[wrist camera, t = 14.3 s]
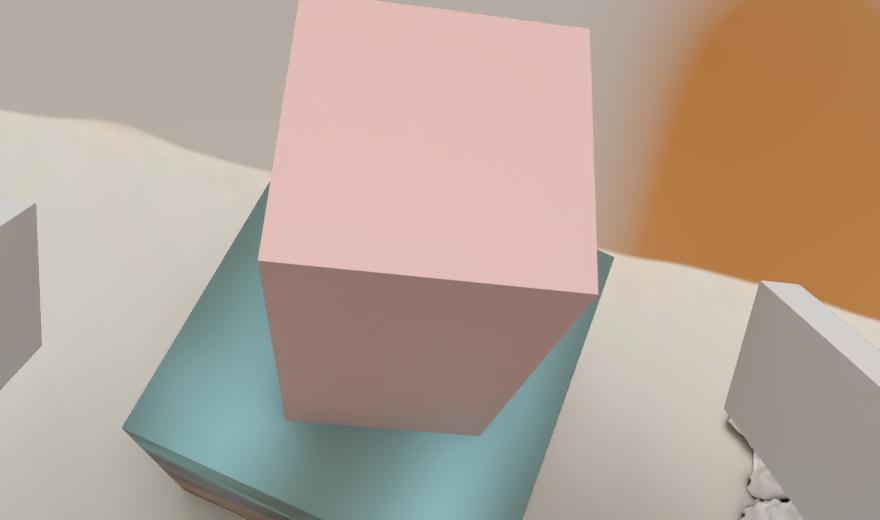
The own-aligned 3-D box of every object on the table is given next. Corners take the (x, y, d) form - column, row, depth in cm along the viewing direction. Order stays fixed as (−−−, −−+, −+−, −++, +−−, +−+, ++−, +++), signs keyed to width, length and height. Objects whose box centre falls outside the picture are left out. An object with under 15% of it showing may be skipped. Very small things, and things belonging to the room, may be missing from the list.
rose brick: (484, 261, 28) (589, 29, 17) (479, 436, 25) (598, 294, 14) (308, 243, 27) (300, -10, 16) (285, 420, 25) (258, 260, 14)
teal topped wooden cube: (533, 358, 39) (614, 257, 29) (439, 606, 34) (494, 598, 23) (309, 259, 40) (304, 123, 29) (183, 489, 35) (121, 428, 24)
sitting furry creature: (729, 390, 40) (880, 304, 29) (893, 459, 40) (1108, 397, 29) (684, 581, 36) (840, 563, 25) (866, 659, 36) (1104, 674, 25)
